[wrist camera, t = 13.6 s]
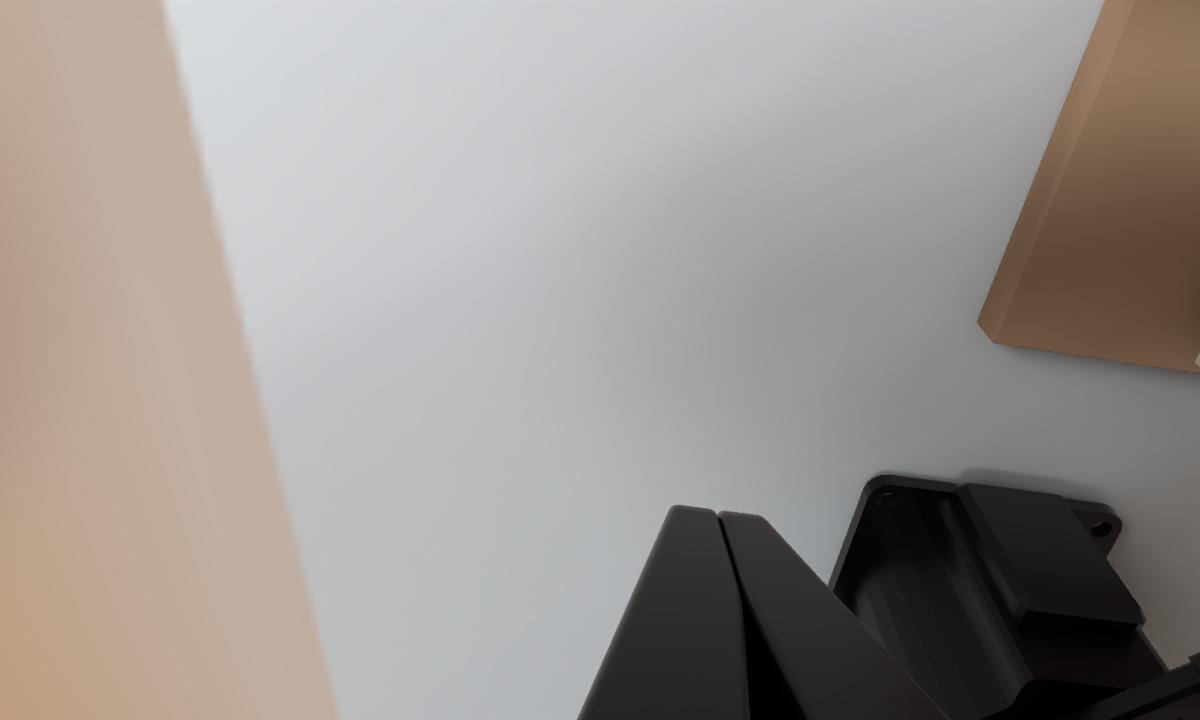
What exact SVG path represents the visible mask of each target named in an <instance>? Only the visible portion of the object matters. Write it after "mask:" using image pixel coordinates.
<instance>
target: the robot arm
mask: <svg viewBox="0 0 1200 720" xmlns="http://www.w3.org/2000/svg"><path fill="white" fill-rule="evenodd" d="M884 493H892V495H891V496H890V497H888V498H886V499H878V498H879V497H880V496H881V495H882V494H884ZM1099 522H1102V523H1101V524H1100V525H1098V526H1096V527H1093V526H1094V525H1095V524H1097V523H1099ZM1121 529H1122V522H1121V520H1120V518H1119V517H1118V516H1117V514H1116V513H1115V512H1114V510H1113V509H1112V508H1111V507H1110V506H1108V505H1105V504H1101V503H1094V502H1087V501H1079V500H1072V499H1064V498H1062V497H1061V496H1059V495H1055V494H1047V493H1040V492H1032V491H1025V490H1017V489H1010V488H1003V487H995V486H988V485H980V484H973V483H965V484H953V483H946V482H938V481H931V480H923V479H916V478H909V477H901V476H894V475H880V476H877V477H875V478H873V479H871V480H870V481H869V482H867V484H866V485H865V487H864V489H863V491H862V494H861V497H860V500H859V502H858V505H857V508H856V510H855V513H854V516H853V519H852V521H851V524H850V527H849V529H848V532H847V535H846V537H845V540H844V543H843V546H842V548H841V551H840V554H839V556H838V559H837V562H836V565H835V567H834V570H833V573H832V575H831V578H830V581H829V584H828V586H827V585H826V584H825V583H824V582H823V581H822V580H821V579H820V578H819V577H818V576H817V575H816V574H815V572H814V571H813V570H812V569H811V568H810V567H809V566H808V565H807V564H806V563H805V562H804V560H803V559H802V558H801V557H800V556H799V555H798V554H797V553H796V552H795V551H794V550H793V549H792V547H791V546H790V545H789V544H788V543H787V542H786V541H785V540H784V539H783V538H782V537H781V535H780V534H779V533H778V532H777V531H776V530H775V529H774V528H773V527H772V526H771V525H770V524H769V522H768V521H767V520H765V519H764V518H763V517H761V516H759V515H753V514H746V513H738V512H730V511H722V512H720V513H718V514H716V513H715V512H714V511H713V510H711V509H707V508H699V507H692V506H684V505H674V506H672V507H671V508H670V510H669V512H668V514H667V516H666V518H665V521H664V523H663V525H662V527H661V530H660V532H659V534H658V536H657V539H656V541H655V543H654V546H653V548H652V550H651V552H650V555H649V557H648V559H647V562H646V564H645V566H644V568H643V571H642V573H641V575H640V577H639V580H638V582H637V584H636V587H635V589H634V591H633V593H632V596H631V598H630V600H629V603H628V605H627V607H626V609H625V612H624V614H623V616H622V618H621V621H620V623H619V625H618V628H617V630H616V632H615V634H614V637H613V639H612V641H611V644H610V646H609V648H608V650H607V653H606V655H605V657H604V659H603V662H602V664H601V666H600V669H599V671H598V673H597V675H596V678H595V680H594V682H593V685H592V687H591V689H590V691H589V694H588V696H587V698H586V700H585V703H584V705H583V707H582V710H581V712H580V714H579V716H578V719H577V720H1200V653H1197V654H1195V655H1193V656H1190V657H1188V658H1189V660H1190V662H1189V663H1187V664H1185V665H1182V666H1180V667H1177V668H1175V669H1173V670H1170V671H1169V669H1168V668H1167V666H1166V665H1165V663H1164V662H1163V661H1162V659H1161V658H1160V656H1159V655H1158V653H1157V652H1156V650H1155V649H1154V647H1153V646H1152V645H1151V643H1150V642H1149V640H1148V639H1147V637H1146V636H1145V634H1144V633H1143V631H1142V630H1141V629H1142V627H1143V626H1144V624H1145V622H1146V621H1147V619H1146V617H1145V614H1144V613H1143V611H1142V609H1141V608H1140V606H1139V605H1138V603H1137V602H1136V600H1135V599H1134V598H1133V596H1132V595H1131V593H1130V592H1129V591H1128V589H1127V588H1126V586H1125V585H1124V583H1123V582H1122V581H1121V579H1120V578H1119V576H1118V575H1117V574H1116V572H1115V571H1114V569H1113V568H1112V567H1111V565H1110V564H1109V562H1108V561H1107V559H1106V557H1107V556H1108V554H1109V552H1110V550H1111V548H1112V547H1113V545H1114V543H1115V541H1116V539H1117V538H1118V536H1119V534H1120V532H1121Z"/></svg>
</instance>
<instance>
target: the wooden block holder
mask: <svg viewBox="0 0 1200 720" xmlns="http://www.w3.org/2000/svg"><path fill="white" fill-rule="evenodd" d="M977 323H978V324H979V325H980V327H981V328H982V329H983V331H984V332H985V333H986V334H987V336H988V337H989V338H990V339H991V341H992V342H993V343H996V344H1003V345H1009V346H1016V347H1023V348H1030V349H1037V350H1044V351H1050V352H1057V353H1064V354H1071V355H1078V356H1084V357H1091V358H1098V359H1105V360H1112V361H1119V362H1125V363H1132V364H1139V365H1146V366H1153V367H1159V368H1166V369H1173V370H1180V371H1187V372H1194V373H1200V0H1106V1H1105V4H1104V6H1103V9H1102V11H1101V14H1100V16H1099V19H1098V21H1097V24H1096V26H1095V29H1094V31H1093V34H1092V36H1091V39H1090V41H1089V44H1088V46H1087V49H1086V51H1085V54H1084V56H1083V59H1082V61H1081V64H1080V66H1079V69H1078V71H1077V74H1076V76H1075V79H1074V81H1073V84H1072V86H1071V89H1070V91H1069V94H1068V96H1067V99H1066V101H1065V104H1064V106H1063V109H1062V111H1061V114H1060V116H1059V119H1058V121H1057V124H1056V126H1055V129H1054V131H1053V134H1052V136H1051V139H1050V141H1049V144H1048V146H1047V149H1046V151H1045V154H1044V156H1043V159H1042V161H1041V164H1040V166H1039V169H1038V171H1037V174H1036V176H1035V179H1034V181H1033V184H1032V186H1031V189H1030V191H1029V194H1028V196H1027V199H1026V201H1025V204H1024V206H1023V209H1022V211H1021V214H1020V216H1019V219H1018V221H1017V224H1016V226H1015V229H1014V231H1013V234H1012V236H1011V239H1010V241H1009V244H1008V246H1007V249H1006V251H1005V254H1004V256H1003V259H1002V261H1001V264H1000V266H999V269H998V271H997V274H996V276H995V279H994V281H993V284H992V286H991V289H990V291H989V294H988V296H987V299H986V301H985V304H984V306H983V309H982V311H981V314H980V316H979V319H978V321H977Z"/></svg>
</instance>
